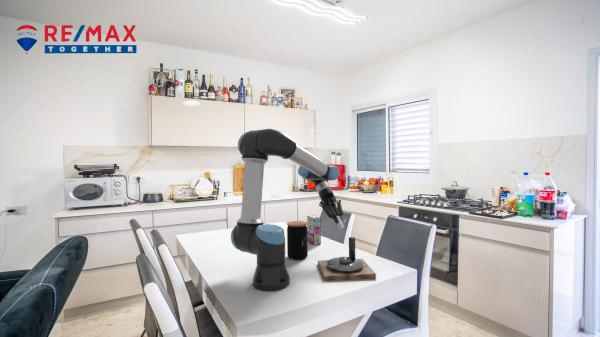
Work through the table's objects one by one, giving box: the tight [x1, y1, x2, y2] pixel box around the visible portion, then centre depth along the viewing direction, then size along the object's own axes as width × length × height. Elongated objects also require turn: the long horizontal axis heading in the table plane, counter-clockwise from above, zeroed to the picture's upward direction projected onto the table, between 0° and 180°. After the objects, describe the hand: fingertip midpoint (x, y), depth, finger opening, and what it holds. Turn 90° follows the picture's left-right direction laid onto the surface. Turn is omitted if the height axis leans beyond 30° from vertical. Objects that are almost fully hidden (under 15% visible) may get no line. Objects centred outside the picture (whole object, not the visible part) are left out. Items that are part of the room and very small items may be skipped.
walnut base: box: [317, 258, 377, 282], centre depth 134 cm, size 22×20×2 cm
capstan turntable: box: [327, 236, 363, 273], centre depth 134 cm, size 16×16×12 cm
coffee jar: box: [286, 220, 309, 261], centre depth 155 cm, size 11×11×18 cm
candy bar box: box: [306, 214, 322, 246], centre depth 183 cm, size 11×5×16 cm, turn 21°
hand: (342, 228), depth 147 cm, fingers closed
